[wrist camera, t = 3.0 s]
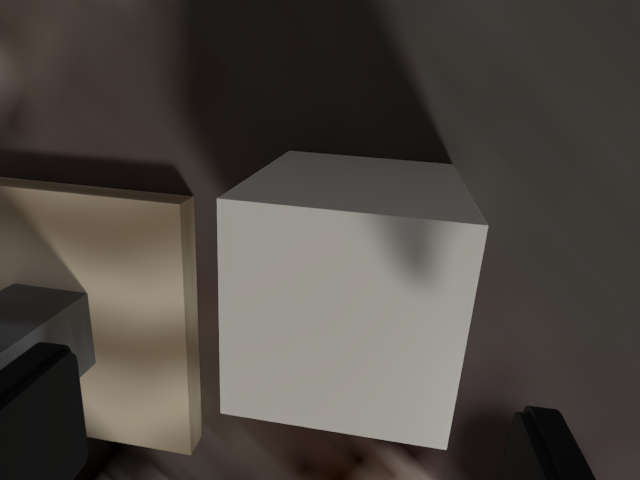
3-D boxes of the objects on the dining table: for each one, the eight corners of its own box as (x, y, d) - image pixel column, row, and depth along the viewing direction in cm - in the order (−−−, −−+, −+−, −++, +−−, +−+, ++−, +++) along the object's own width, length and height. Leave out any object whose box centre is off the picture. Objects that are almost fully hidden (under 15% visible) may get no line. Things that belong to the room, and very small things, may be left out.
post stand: (-68, 170, 24) (-300, 216, 16) (193, 196, 22) (77, 263, 14) (-17, 397, 29) (-177, 520, 21) (201, 435, 27) (117, 586, 19)
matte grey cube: (289, 150, 21) (216, 198, 13) (452, 164, 20) (488, 225, 12) (284, 294, 23) (220, 413, 15) (429, 312, 22) (446, 450, 14)
